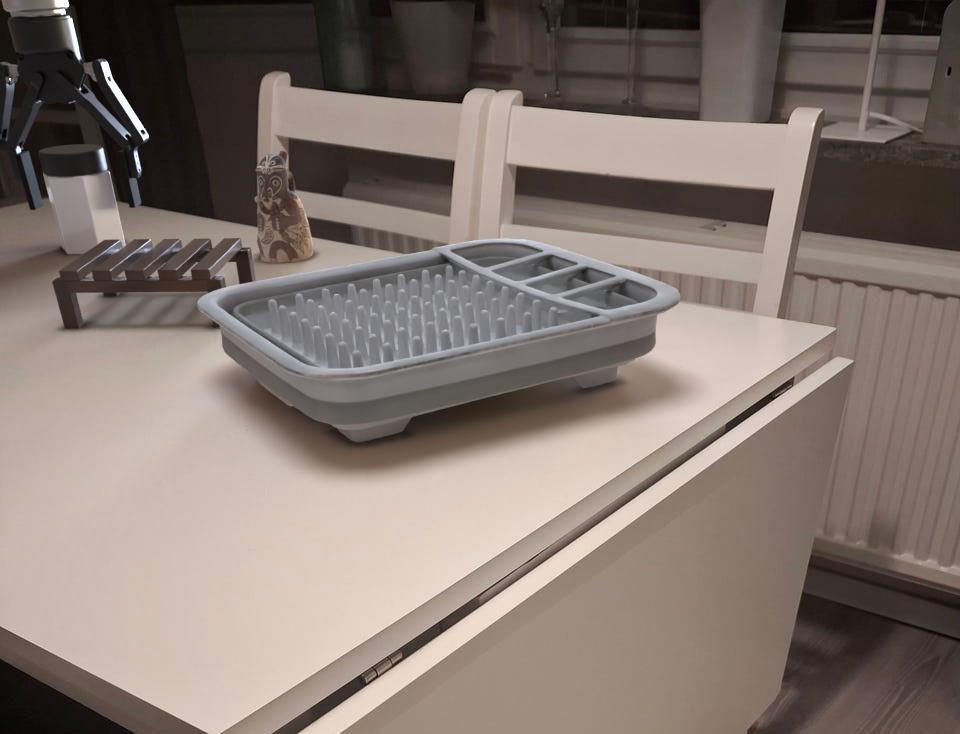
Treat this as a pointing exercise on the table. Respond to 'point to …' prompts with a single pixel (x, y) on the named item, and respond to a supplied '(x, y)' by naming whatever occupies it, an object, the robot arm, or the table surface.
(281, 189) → the figurine
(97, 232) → the jar
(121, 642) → the table surface
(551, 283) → the dish rack
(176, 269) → the rack
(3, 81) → the robot arm
